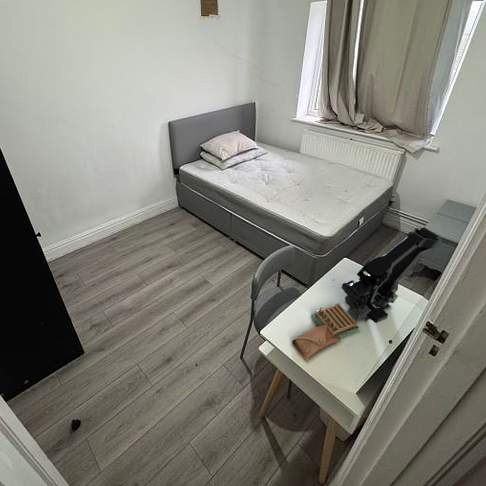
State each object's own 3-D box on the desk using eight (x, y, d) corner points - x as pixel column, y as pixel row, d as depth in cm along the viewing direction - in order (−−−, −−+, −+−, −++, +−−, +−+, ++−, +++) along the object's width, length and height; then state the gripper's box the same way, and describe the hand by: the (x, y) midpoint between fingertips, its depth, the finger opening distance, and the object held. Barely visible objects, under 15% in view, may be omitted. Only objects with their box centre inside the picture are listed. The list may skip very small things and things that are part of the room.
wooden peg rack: (336, 307, 123) (341, 295, 119) (357, 331, 114) (363, 319, 110) (311, 316, 120) (314, 304, 115) (330, 342, 111) (335, 330, 106)
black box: (358, 307, 123) (362, 299, 120) (367, 317, 119) (371, 308, 116) (347, 312, 121) (350, 303, 118) (355, 321, 118) (359, 313, 114)
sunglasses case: (307, 362, 104) (303, 345, 103) (294, 353, 110) (290, 337, 110) (342, 340, 111) (339, 324, 110) (328, 332, 117) (325, 317, 116)
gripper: (335, 276, 116) (327, 301, 125) (371, 314, 101) (359, 339, 110) (357, 269, 119) (347, 294, 128) (395, 304, 104) (381, 329, 113)
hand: (357, 313), depth 120 cm, fingers open, 8 cm apart
